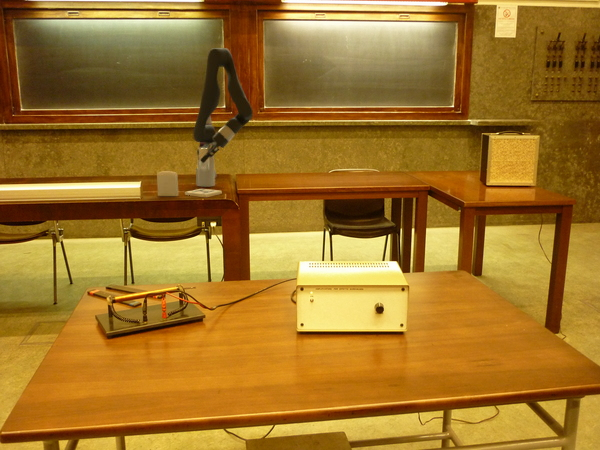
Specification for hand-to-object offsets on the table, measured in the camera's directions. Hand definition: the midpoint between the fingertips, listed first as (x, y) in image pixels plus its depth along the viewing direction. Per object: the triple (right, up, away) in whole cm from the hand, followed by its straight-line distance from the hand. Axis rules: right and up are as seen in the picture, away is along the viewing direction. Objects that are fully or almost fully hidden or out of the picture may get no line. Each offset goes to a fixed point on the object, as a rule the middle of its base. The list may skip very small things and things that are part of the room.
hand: (200, 160), depth 290 cm
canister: (+2, -5, +2) cm, 5 cm away
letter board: (+1, -16, +4) cm, 17 cm away
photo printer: (-16, -18, -1) cm, 24 cm away
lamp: (-7, -2, +67) cm, 68 cm away
